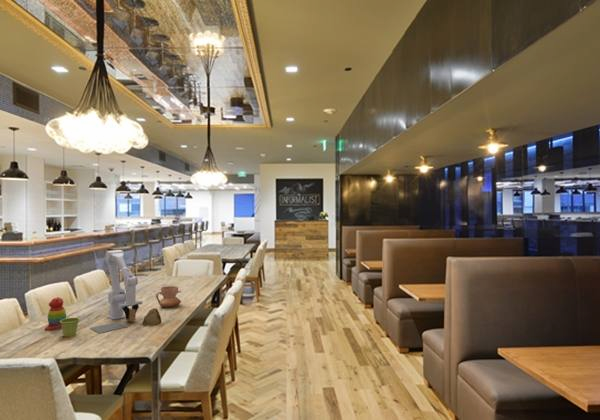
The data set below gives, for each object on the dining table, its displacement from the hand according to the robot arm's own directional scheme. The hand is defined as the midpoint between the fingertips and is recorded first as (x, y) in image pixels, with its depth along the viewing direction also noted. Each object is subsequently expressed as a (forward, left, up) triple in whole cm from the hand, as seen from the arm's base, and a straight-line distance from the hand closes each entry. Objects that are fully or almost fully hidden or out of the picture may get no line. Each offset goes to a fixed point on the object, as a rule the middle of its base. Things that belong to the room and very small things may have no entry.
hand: (130, 317), depth 234 cm
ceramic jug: (-16, +36, -3) cm, 39 cm away
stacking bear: (-23, -34, -3) cm, 41 cm away
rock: (+13, +7, -3) cm, 15 cm away
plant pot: (-1, -34, -3) cm, 34 cm away
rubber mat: (+2, -14, -3) cm, 14 cm away
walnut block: (0, 0, -2) cm, 2 cm away
